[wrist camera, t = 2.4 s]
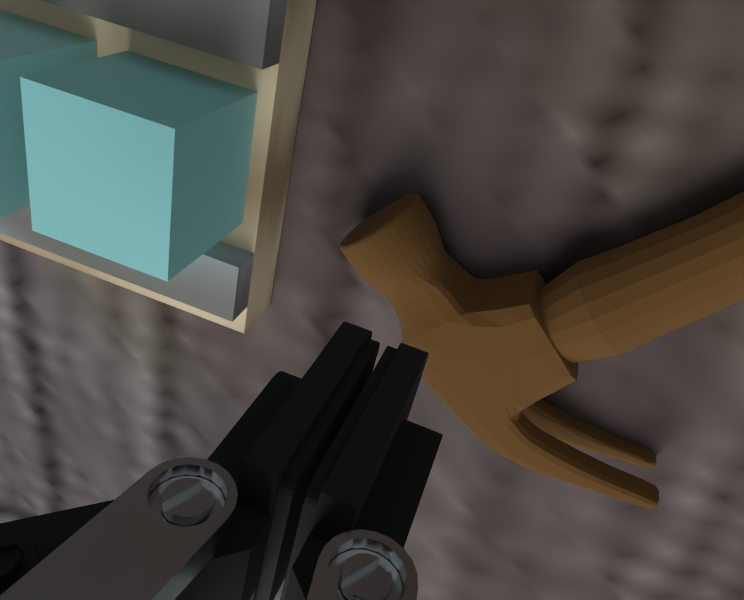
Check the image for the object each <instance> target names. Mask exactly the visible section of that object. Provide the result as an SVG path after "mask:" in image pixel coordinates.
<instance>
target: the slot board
mask: <svg viewBox="0 0 744 600" xmlns="http://www.w3.org/2000/svg"><path fill="white" fill-rule="evenodd" d="M316 2H317V0H0V10H3V11H7V12H10V13H13V14H16V15H19V16H22V17H25V18H28V19H32V20H35V21H38V22H41V23H44V24H47V25H50V26H53V27H57V28H60V29H63V30H66V31H69V32H72V33H75V34H78V35H82V36H85V37H88V38H91V39H94V40H97V58H99V57H103V56H107V55H111V54H115V53H120V52H124V51H128V50H129V51H132V52H135V53H138V54H141V55H144V56H147V57H150V58H154V59H157V60H160V61H163V62H166V63H169V64H172V65H175V66H179V67H182V68H185V69H188V70H191V71H194V72H197V73H200V74H204V75H207V76H210V77H213V78H216V79H219V80H222V81H225V82H229V83H232V84H235V85H238V86H241V87H244V88H247V89H250V90H254V91H257V92H258V95H257V103H256V112H255V121H254V129H253V138H252V147H251V155H250V164H249V173H248V181H247V190H246V199H245V207H244V216H243V223H242V224H241V225H239V226H238V227H237V228H236V229H234V230H233V231H232V232H230V233H229V234H228V235H227V236H225V237H224V238H223V239H222V240H220V241H219V242H218V243H216V244H215V245H214V246H213V247H211V248H210V249H209V250H207V251H206V252H205V253H204V254H202V255H201V256H200V257H199V258H197V259H196V260H195V261H193V262H192V263H191V264H190V265H188V266H187V267H186V268H184V269H183V270H182V271H181V272H179V273H178V274H177V275H176V276H174V277H173V278H172V279H170V280H169V281H168V282H167V281H164V280H162V279H159V278H157V277H154V276H151V275H149V274H146V273H143V272H141V271H138V270H135V269H133V268H130V267H127V266H125V265H122V264H119V263H117V262H114V261H112V260H109V259H106V258H104V257H101V256H98V255H96V254H93V253H90V252H88V251H85V250H82V249H80V248H77V247H75V246H72V245H69V244H67V243H64V242H61V241H59V240H56V239H53V238H51V237H48V236H45V235H43V234H40V233H38V232H35V231H32V221H31V208H30V205H27V206H25V207H23V208H21V209H19V210H17V211H15V212H12V213H10V214H8V215H6V216H4V217H2V218H0V240H2V241H5V242H7V243H10V244H12V245H15V246H18V247H20V248H23V249H25V250H28V251H31V252H33V253H36V254H38V255H41V256H44V257H46V258H49V259H51V260H54V261H57V262H59V263H62V264H64V265H67V266H70V267H72V268H75V269H78V270H80V271H83V272H85V273H88V274H91V275H93V276H96V277H98V278H101V279H104V280H106V281H109V282H111V283H114V284H117V285H119V286H122V287H124V288H127V289H130V290H132V291H135V292H137V293H140V294H143V295H145V296H148V297H150V298H153V299H156V300H158V301H161V302H163V303H166V304H169V305H171V306H174V307H176V308H179V309H182V310H184V311H187V312H189V313H192V314H195V315H197V316H200V317H202V318H205V319H208V320H210V321H213V322H216V323H218V324H221V325H223V326H226V327H229V328H231V329H234V330H236V331H239V332H242V333H245V332H246V331H247V330H248V328H249V327H250V326H251V325H252V324H253V323H254V322H255V321H256V320H257V319H258V318H259V317H260V315H261V314H262V313H263V312H264V311H265V310H266V309H267V308H268V307H269V306H270V302H271V296H272V289H273V283H274V276H275V270H276V263H277V256H278V250H279V243H280V237H281V230H282V224H283V217H284V211H285V204H286V198H287V191H288V185H289V178H290V172H291V165H292V158H293V152H294V145H295V139H296V132H297V126H298V119H299V113H300V106H301V100H302V93H303V87H304V80H305V73H306V67H307V60H308V54H309V47H310V41H311V34H312V28H313V21H314V15H315V8H316Z"/></svg>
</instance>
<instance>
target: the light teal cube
mask: <svg viewBox="0 0 744 600" xmlns="http://www.w3.org/2000/svg"><path fill="white" fill-rule="evenodd" d="M95 58H97V40H94V39H91V38H88V37H85V36H82V35H78V34H75V33H72V32H69V31H66V30H63V29H60V28H57V27H53V26H50V25H47V24H44V23H41V22H38V21H35V20H32V19H28V18H25V17H22V16H19V15H16V14H13V13H10V12H7V11H3V10H0V218H2V217H4V216H6V215H8V214H10V213H12V212H15V211H17V210H19V209H21V208H23V207H25V206H27V205H30V196H29V183H28V171H27V159H26V146H25V134H24V122H23V109H22V97H21V85H20V77H21V76H25V75H29V74H33V73H37V72H41V71H46V70H50V69H54V68H58V67H62V66H66V65H70V64H74V63H78V62H83V61H87V60H91V59H95Z"/></svg>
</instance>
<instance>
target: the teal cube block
mask: <svg viewBox="0 0 744 600" xmlns="http://www.w3.org/2000/svg"><path fill="white" fill-rule="evenodd" d="M20 85H21V97H22V109H23V122H24V134H25V146H26V159H27V171H28V183H29V196H30V208H31V221H32V231H35V232H38V233H40V234H43V235H45V236H48V237H51V238H53V239H56V240H59V241H61V242H64V243H67V244H69V245H72V246H75V247H77V248H80V249H82V250H85V251H88V252H90V253H93V254H96V255H98V256H101V257H104V258H106V259H109V260H112V261H114V262H117V263H119V264H122V265H125V266H127V267H130V268H133V269H135V270H138V271H141V272H143V273H146V274H149V275H151V276H154V277H157V278H159V279H162V280H164V281H167V282H168V281H169V280H170V279H172V278H173V277H174V276H176V275H177V274H178V273H179V272H181V271H182V270H183V269H184V268H186V267H187V266H188V265H190V264H191V263H192V262H193V261H195V260H196V259H197V258H199V257H200V256H201V255H202V254H204V253H205V252H206V251H207V250H209V249H210V248H211V247H213V246H214V245H215V244H216V243H218V242H219V241H220V240H222V239H223V238H224V237H225V236H227V235H228V234H229V233H230V232H232V231H233V230H234V229H236V228H237V227H238V226H239V225H241V224H242V223H243V216H244V207H245V199H246V190H247V181H248V173H249V164H250V155H251V147H252V138H253V129H254V121H255V112H256V103H257V95H258V92H257V91H254V90H250V89H247V88H244V87H241V86H238V85H235V84H232V83H229V82H225V81H222V80H219V79H216V78H213V77H210V76H207V75H204V74H200V73H197V72H194V71H191V70H188V69H185V68H182V67H179V66H175V65H172V64H169V63H166V62H163V61H160V60H157V59H154V58H150V57H147V56H144V55H141V54H138V53H135V52H132V51H129V50H128V51H124V52H120V53H115V54H111V55H107V56H103V57H99V58H95V59H91V60H87V61H83V62H78V63H74V64H70V65H66V66H62V67H58V68H54V69H50V70H46V71H41V72H37V73H33V74H29V75H25V76H21V77H20Z"/></svg>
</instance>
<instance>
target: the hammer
mask: <svg viewBox="0 0 744 600" xmlns="http://www.w3.org/2000/svg"><path fill="white" fill-rule="evenodd" d="M340 248H341V251H342V252H343V253H344V255H345V256H346V258H347V259H348V261H349V262H350V264H351V265H352V266H353V267H354V269H355V270H356V271H357V272H358V274H359V275H360V276H361V277H362V278H363V279H364V280H365V281H366V282H368V283H369V284H370V285H371V286H372V287H374V288H375V289H376V290H377V291H379V292H380V293H381V294H382V295H384V296H385V297H386V298H387V299H388V300H389V302H390V303H391V305H392V306H393V308H394V310H395V312H396V314H397V316H398V318H399V321H400V325H401V329H402V341H403V343H404V344H407V345H409V346H412V347H415V348H417V349H420V350H423V351H425V352H428V353H429V355H428V358H427V361H426V364H425V367H424V371H423V374H422V378H423V379H424V380H425V382H426V383H427V384H428V385H429V386H430V387H431V388H432V390H433V391H434V392H435V393H436V394H437V395H438V396H439V397H440V398H441V399H442V400H443V402H444V403H445V404H446V405H447V406H448V407H449V408H450V409H451V410H452V411H453V412H454V413H455V415H456V416H457V417H458V418H459V419H460V420H461V421H462V422H463V423H464V424H465V425H466V426H467V427H468V428H469V429H470V430H471V431H472V432H473V433H474V434H475V435H477V436H478V437H479V438H480V439H481V440H482V441H483V442H484V443H485V444H486V445H487V446H488V447H490V448H491V449H492V450H494V451H495V452H497V453H499V454H500V455H502V456H504V457H506V458H508V459H510V460H511V461H513V462H515V463H517V464H519V465H521V466H523V467H525V468H528V469H530V470H532V471H535V472H537V473H540V474H542V475H545V476H548V477H551V478H554V479H558V480H561V481H564V482H568V483H571V484H574V485H577V486H580V487H583V488H586V489H589V490H592V491H595V492H598V493H601V494H604V495H607V496H610V497H613V498H616V499H619V500H623V501H626V502H629V503H632V504H635V505H639V506H642V507H644V508H647V509H652V508H655V507H656V506H657V504H658V501H659V490H658V489H657V487H656V486H655V485H653V484H651V483H650V482H647V481H645V480H643V479H641V478H638V477H636V476H633V475H631V474H628V473H626V472H624V471H621V470H619V469H616V468H614V467H612V466H610V465H608V464H606V463H603V462H601V461H599V460H597V459H595V458H593V457H591V456H589V455H587V454H585V453H583V452H581V451H579V450H577V449H575V448H573V447H572V446H576V447H579V448H582V449H586V450H589V451H592V452H596V453H599V454H602V455H606V456H609V457H613V458H616V459H619V460H622V461H625V462H629V463H632V464H635V465H638V466H641V467H644V468H647V469H651V468H652V467H654V465H655V464H656V456H655V454H654V453H652V452H650V451H648V450H646V449H644V448H642V447H639V446H637V445H635V444H632V443H630V442H627V441H625V440H622V439H620V438H617V437H615V436H612V435H610V434H608V433H606V432H603V431H601V430H599V429H597V428H595V427H593V426H591V425H589V424H587V423H585V422H583V421H581V420H579V419H577V418H575V417H573V416H571V415H569V414H567V413H566V412H564V411H562V410H560V409H558V408H557V407H555V406H553V405H552V404H550V403H548V402H547V401H545V400H544V399H542V398H544V397H546V396H548V395H550V394H552V393H554V392H556V391H558V390H560V389H562V388H564V387H566V386H568V385H570V384H572V383H574V382H576V381H577V372H578V363H579V362H586V361H592V360H598V359H604V358H610V357H616V356H622V355H624V354H626V353H628V352H630V351H632V350H634V349H636V348H638V347H640V346H642V345H644V344H646V343H648V342H650V341H652V340H654V339H656V338H658V337H660V336H662V335H665V334H667V333H669V332H672V331H674V330H676V329H679V328H681V327H683V326H685V325H688V324H690V323H692V322H695V321H697V320H699V319H701V318H704V317H706V316H708V315H711V314H713V313H715V312H718V311H720V310H722V309H724V308H727V307H729V306H731V305H734V304H736V303H738V302H741V301H743V300H744V192H742V193H740V194H738V195H736V196H734V197H732V198H730V199H728V200H726V201H724V202H722V203H720V204H718V205H716V206H714V207H712V208H710V209H708V210H706V211H704V212H702V213H700V214H698V215H695V216H693V217H691V218H688V219H686V220H683V221H681V222H678V223H676V224H673V225H671V226H669V227H666V228H664V229H661V230H659V231H656V232H654V233H652V234H649V235H647V236H644V237H642V238H639V239H637V240H634V241H632V242H630V243H627V244H625V245H622V246H620V247H617V248H614V249H611V250H609V251H606V252H603V253H600V254H597V255H595V256H592V257H589V258H586V259H583V260H581V261H578V262H576V263H575V264H573V265H572V266H571V267H569V268H568V269H567V270H565V271H564V272H563V273H561V274H560V275H558V276H557V277H556V278H554V279H553V280H552V281H550V282H549V283H548V284H546V282H545V281H544V279H543V278H542V276H541V275H540V274H539V272H538V271H537V270H534V271H528V272H523V273H518V274H514V275H509V276H503V277H496V278H490V279H476V278H474V277H473V276H471V275H470V274H469V273H468V272H467V271H466V270H465V269H464V268H463V267H462V266H460V265H459V264H458V263H457V262H456V261H455V260H454V259H453V258H452V257H451V256H450V255H449V254H447V253H446V252H445V249H444V247H443V243H442V240H441V236H440V233H439V230H438V227H437V224H436V222H435V220H434V219H433V217H432V215H431V213H430V211H429V210H428V208H427V206H426V205H425V203H424V202H423V200H422V199H421V197H420V196H419V195H418V194H416V193H412V194H409V195H407V196H404V197H402V198H400V199H398V200H396V201H395V202H393V203H391V204H389V205H387V206H386V207H384V208H382V209H381V210H379V211H377V212H375V213H374V214H372V215H371V216H369V217H368V218H367V219H365V220H364V221H363V222H361V223H360V224H359V225H358V226H356V227H355V228H354V229H353V230H352V231H351V232H350V233H349V234H348V235H347V236H346V237H345V238H344V239H343V241H342V242H341V245H340ZM568 444H569V445H568ZM570 445H572V446H570Z"/></svg>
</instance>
